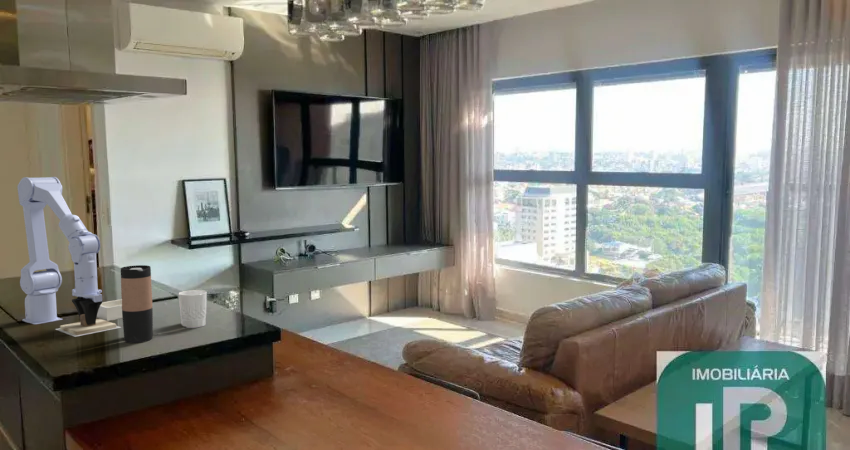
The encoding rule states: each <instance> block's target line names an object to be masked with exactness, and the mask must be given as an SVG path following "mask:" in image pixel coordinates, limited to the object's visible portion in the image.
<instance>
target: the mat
mask: <svg viewBox="0 0 850 450" xmlns="http://www.w3.org/2000/svg"><path fill="white" fill-rule="evenodd" d="M120 328H121V329H123V328H122V327H121V326H119V325H117V328H112V329H106V330H101V331H96V332H91V333H86V334H81V335H75V334H72V333H69V332H67V331H64V330H61V329H60V327H59V328H55V329H54V330H56V331H58V332H60V333H64V334H66V335H69V336H72V337H75V338H76V337H80V336H86V335H91V334H96V333H102V332H105V331H110V330H116V329H120Z"/></svg>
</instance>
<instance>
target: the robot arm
mask: <svg viewBox="0 0 850 450" xmlns="http://www.w3.org/2000/svg"><path fill="white" fill-rule="evenodd" d="M17 194H18V201H19V206H21V207H22V211H23V219H24V227H25V228H24V229H25V234H26V243H27V251H28V252H27V253H28V259H29V262H28V263H26V264H25V265H24V266H23V267H22V268H21V269H20V279H19V286H20V288H21V290H22V291H23V292H24V293H25V294H26V296H25V298H24V312H25V318H23V319H22V322H24V323H28V324H32V325H40V324H46V323H52V322H57V321H62V320H63V318H60V317H58V315H57V313H58V311H57V296H56V293H57V292H58V291H59V288H60V287H61V285H62V283H63V277H62V274H61V272H60V269H59V265H58V263H56V262H54V261H52V260H51V259H50V254H49V253H50V252H49V246H48V245H49V244H48V236H47V230H46V229H47V228H46V222H45V213H44V210H45V207H46V206H48V207H49V208H50V209H51V211H53V213H54V215H55V216H56V217H57V218H58V219H59V222H58V227H59V228H60V230H61V231H62V234H63V235H64V236H65V238H66V240H67V241H68V245H67V247H68V252H69V253H70V256H71V261H72V263H73V270H74V271H73V272H74V288H73V289H71V293H72V294H71V295H72V296H73V297H76V298H73V299H71V303H72V304H73V305H74V308H75V309H76V311H77V313H78V317H79V318H80V315H82V314H85V320H86V323H87V325H90V324H95V322H96V319H98V318H97V313H98V310H99V307H100V305H101V304H102V302H103V294H101V293H102V292H103V291H102V289H99V288H98V267H97V266H98V265H97V264H98V263H97V254H98V253H99V252H100V250H101V240H100V238H99V236H98V235H97V234H96V233H95V234H94V233H92V232H91V231H89V230H88V229H87V227H86V225H85V224H84V222H83V221H82V220H81V219H80V218H81V217H79V215H76V214H72V212H71V210H70V208H69V206H68V204H67V202H66V200H65V199H64V197H63V185H62V183H61V181H60V179H59V178H58V177H57V176H50V177H47V176H46V177H27V176H25V177H24V176H23V177H22V178H20V181H19V183H18V184H17Z"/></svg>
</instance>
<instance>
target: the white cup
mask: <svg viewBox="0 0 850 450" xmlns="http://www.w3.org/2000/svg"><path fill="white" fill-rule="evenodd" d="M207 293H208V292H207V291H206V290H203V289H189V290H184V291H179V292H178V302H179V303H178V305H179V313H180V314H179V316H180V322H181V323H180V325H181V326H183V327H184V328H185V329H197V328H201V327H204V326H206V323H207V320H206V317H207V303H208V302H207V299H208V298H207V297H208V294H207Z"/></svg>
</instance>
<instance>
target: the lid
mask: <svg viewBox="0 0 850 450" xmlns="http://www.w3.org/2000/svg"><path fill="white" fill-rule="evenodd" d="M79 320H80V321H78V322H77V321H76V322H73V323H71V322H70V323H68V324H67V323H66V324H62V325H61V324H60V325H59V328H60V329H61V330H64V331H67V332H69V333H72V334H75V335H81V334H86V333H91V332H96V331H101V330H106V329H112V328H117V326H118V325H117V323H115V322H110V321H105V320H102V319H99V318H96V322H95V324H90V325H87V323H86V320H85V314H82V315H80V317H79ZM117 329H118V328H117ZM112 330H113V329H112Z"/></svg>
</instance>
